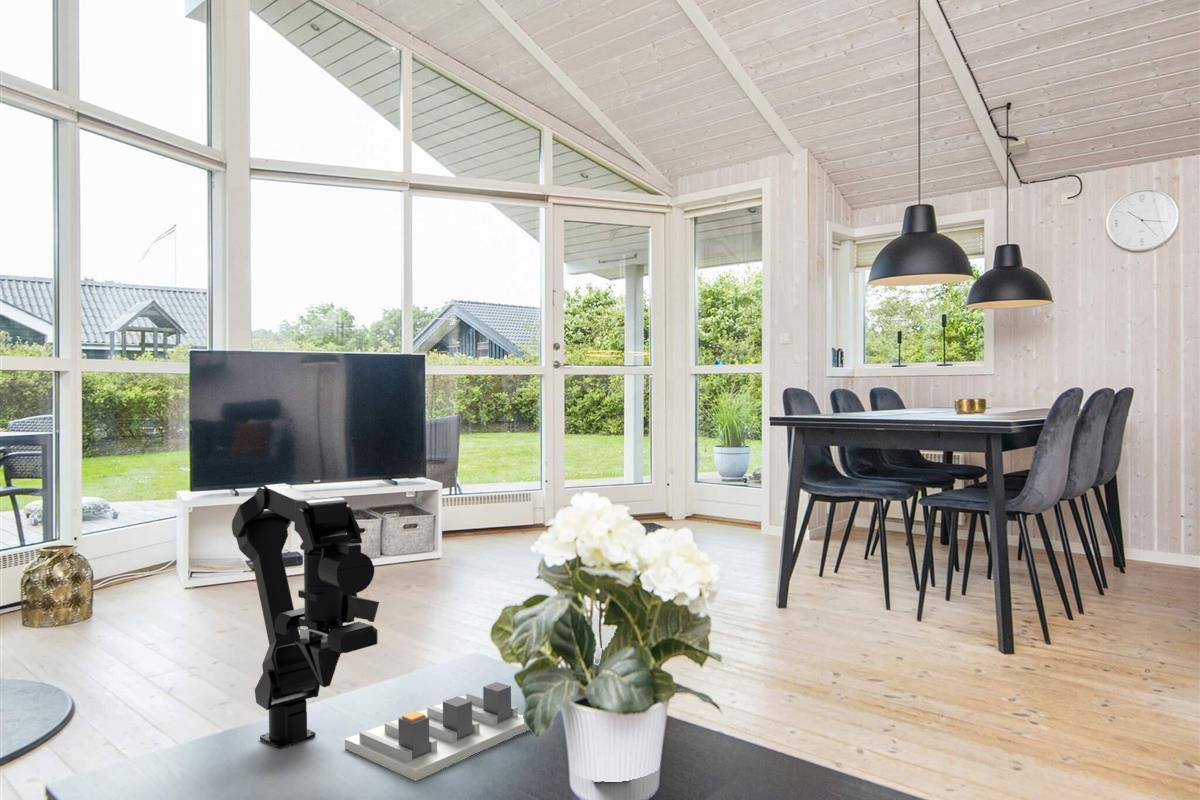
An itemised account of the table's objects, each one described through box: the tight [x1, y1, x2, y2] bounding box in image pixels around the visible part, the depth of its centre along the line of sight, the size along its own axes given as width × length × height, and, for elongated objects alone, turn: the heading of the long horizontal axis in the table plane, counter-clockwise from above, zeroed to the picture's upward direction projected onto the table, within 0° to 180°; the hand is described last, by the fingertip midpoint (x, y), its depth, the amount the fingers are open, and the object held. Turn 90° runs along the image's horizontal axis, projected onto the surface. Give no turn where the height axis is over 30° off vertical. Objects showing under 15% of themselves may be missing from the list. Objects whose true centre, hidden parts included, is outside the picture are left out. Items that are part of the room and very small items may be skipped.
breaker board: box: [344, 691, 530, 782], centre depth 131 cm, size 18×24×3 cm
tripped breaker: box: [397, 710, 429, 758], centre depth 122 cm, size 4×3×5 cm
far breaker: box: [482, 681, 512, 722], centre depth 135 cm, size 4×3×5 cm
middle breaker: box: [442, 696, 472, 739], centre depth 128 cm, size 4×3×5 cm
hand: (325, 686), depth 122 cm, fingers closed
